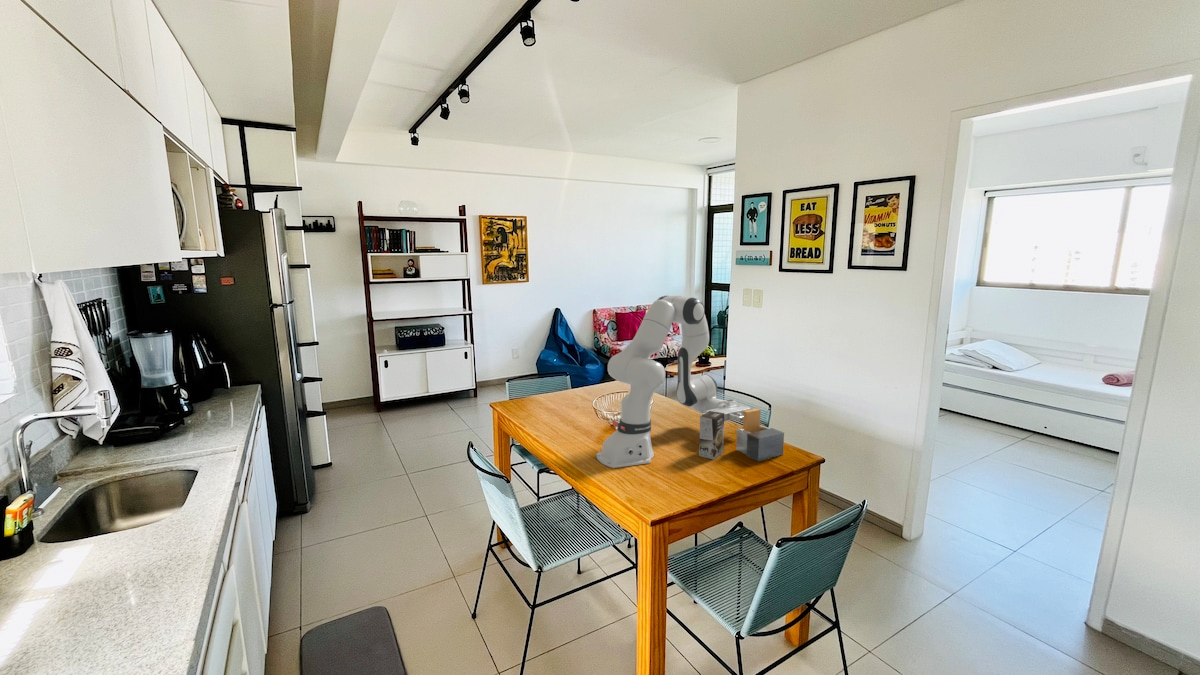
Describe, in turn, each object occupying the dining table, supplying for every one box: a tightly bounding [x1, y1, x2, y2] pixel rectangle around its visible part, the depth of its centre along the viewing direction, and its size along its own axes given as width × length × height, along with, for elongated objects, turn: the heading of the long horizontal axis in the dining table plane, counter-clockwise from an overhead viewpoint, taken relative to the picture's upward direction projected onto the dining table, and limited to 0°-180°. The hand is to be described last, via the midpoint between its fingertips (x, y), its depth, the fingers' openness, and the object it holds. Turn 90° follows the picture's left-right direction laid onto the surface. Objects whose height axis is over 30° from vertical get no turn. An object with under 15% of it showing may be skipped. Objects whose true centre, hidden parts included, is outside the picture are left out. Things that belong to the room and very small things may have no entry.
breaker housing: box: [735, 424, 785, 463], centre depth 191 cm, size 13×12×9 cm
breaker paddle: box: [742, 407, 761, 433], centre depth 193 cm, size 7×2×10 cm, turn 118°
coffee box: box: [698, 411, 725, 460], centre depth 189 cm, size 9×6×16 cm
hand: (742, 418), depth 198 cm, fingers closed
